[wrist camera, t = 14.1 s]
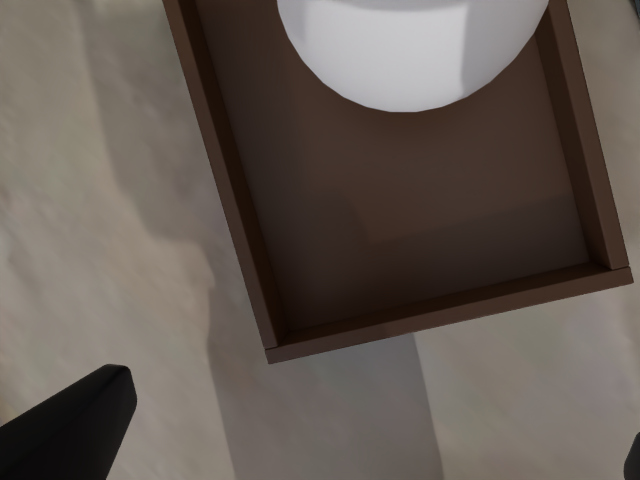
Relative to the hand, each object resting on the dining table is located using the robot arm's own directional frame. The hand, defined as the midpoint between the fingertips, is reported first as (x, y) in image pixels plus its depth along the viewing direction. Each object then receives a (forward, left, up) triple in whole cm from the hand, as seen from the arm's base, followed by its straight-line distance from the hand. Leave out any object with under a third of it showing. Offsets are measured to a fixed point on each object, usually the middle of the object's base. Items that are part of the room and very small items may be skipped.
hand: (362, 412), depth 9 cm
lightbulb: (+8, -3, -12) cm, 15 cm away
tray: (+7, -2, -12) cm, 14 cm away
